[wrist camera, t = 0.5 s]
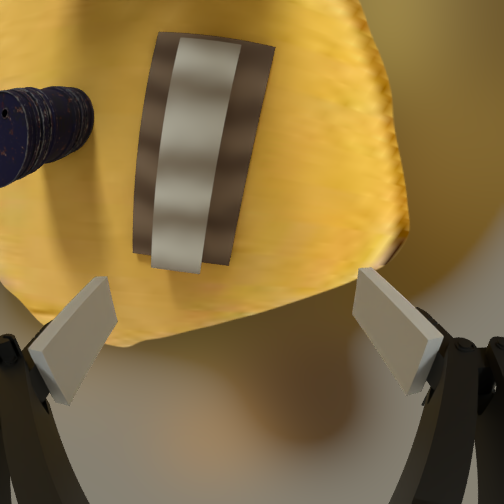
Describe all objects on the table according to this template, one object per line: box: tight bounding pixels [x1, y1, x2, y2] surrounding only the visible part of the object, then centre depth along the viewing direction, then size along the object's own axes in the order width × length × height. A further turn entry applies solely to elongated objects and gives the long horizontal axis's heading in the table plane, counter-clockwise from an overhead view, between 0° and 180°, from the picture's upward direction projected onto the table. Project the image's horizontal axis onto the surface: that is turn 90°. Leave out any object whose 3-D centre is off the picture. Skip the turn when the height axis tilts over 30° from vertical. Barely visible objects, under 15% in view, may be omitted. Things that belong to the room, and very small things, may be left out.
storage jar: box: [0, 86, 94, 188], centre depth 23 cm, size 10×10×15 cm
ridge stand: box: [133, 32, 275, 274], centre depth 31 cm, size 30×14×8 cm, turn 168°
